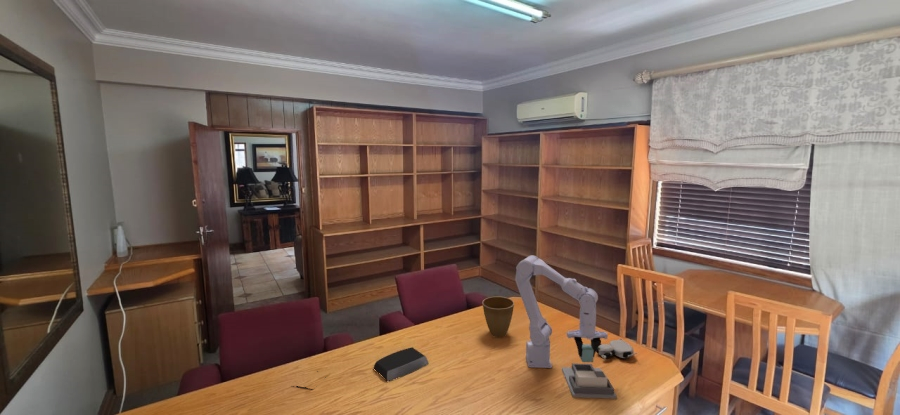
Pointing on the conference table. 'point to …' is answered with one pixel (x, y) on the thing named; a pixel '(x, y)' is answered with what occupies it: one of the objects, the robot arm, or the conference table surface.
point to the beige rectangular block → (590, 379)
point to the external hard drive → (400, 363)
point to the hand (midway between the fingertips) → (586, 355)
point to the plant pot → (498, 314)
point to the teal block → (587, 353)
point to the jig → (586, 391)
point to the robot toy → (615, 349)
